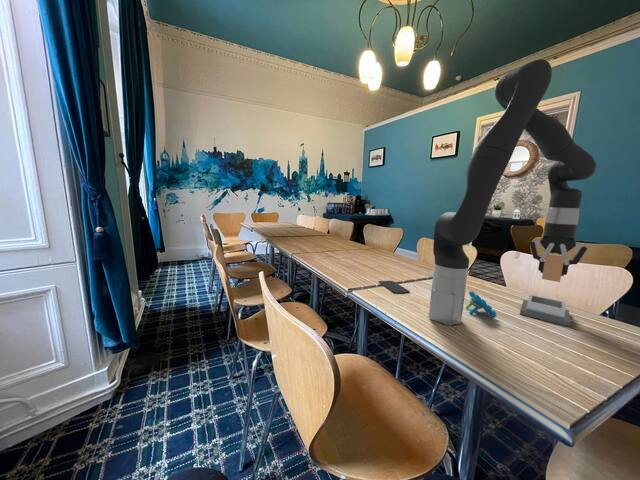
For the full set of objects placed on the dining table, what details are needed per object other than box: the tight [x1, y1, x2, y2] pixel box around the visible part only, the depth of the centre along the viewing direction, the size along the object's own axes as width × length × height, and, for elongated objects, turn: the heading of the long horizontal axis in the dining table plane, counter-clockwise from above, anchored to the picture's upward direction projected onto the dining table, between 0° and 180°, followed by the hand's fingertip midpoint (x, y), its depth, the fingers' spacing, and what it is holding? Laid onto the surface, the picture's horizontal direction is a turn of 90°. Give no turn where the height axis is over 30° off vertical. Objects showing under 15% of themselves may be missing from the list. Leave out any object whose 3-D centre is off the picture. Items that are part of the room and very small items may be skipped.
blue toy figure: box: [465, 291, 498, 318], centre depth 83 cm, size 11×6×10 cm
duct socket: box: [519, 294, 571, 328], centre depth 85 cm, size 13×12×4 cm
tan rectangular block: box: [541, 253, 564, 283], centre depth 82 cm, size 4×4×8 cm
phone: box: [377, 280, 411, 295], centre depth 107 cm, size 7×1×15 cm
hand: (551, 273), depth 83 cm, fingers closed on tan rectangular block, 4 cm apart
